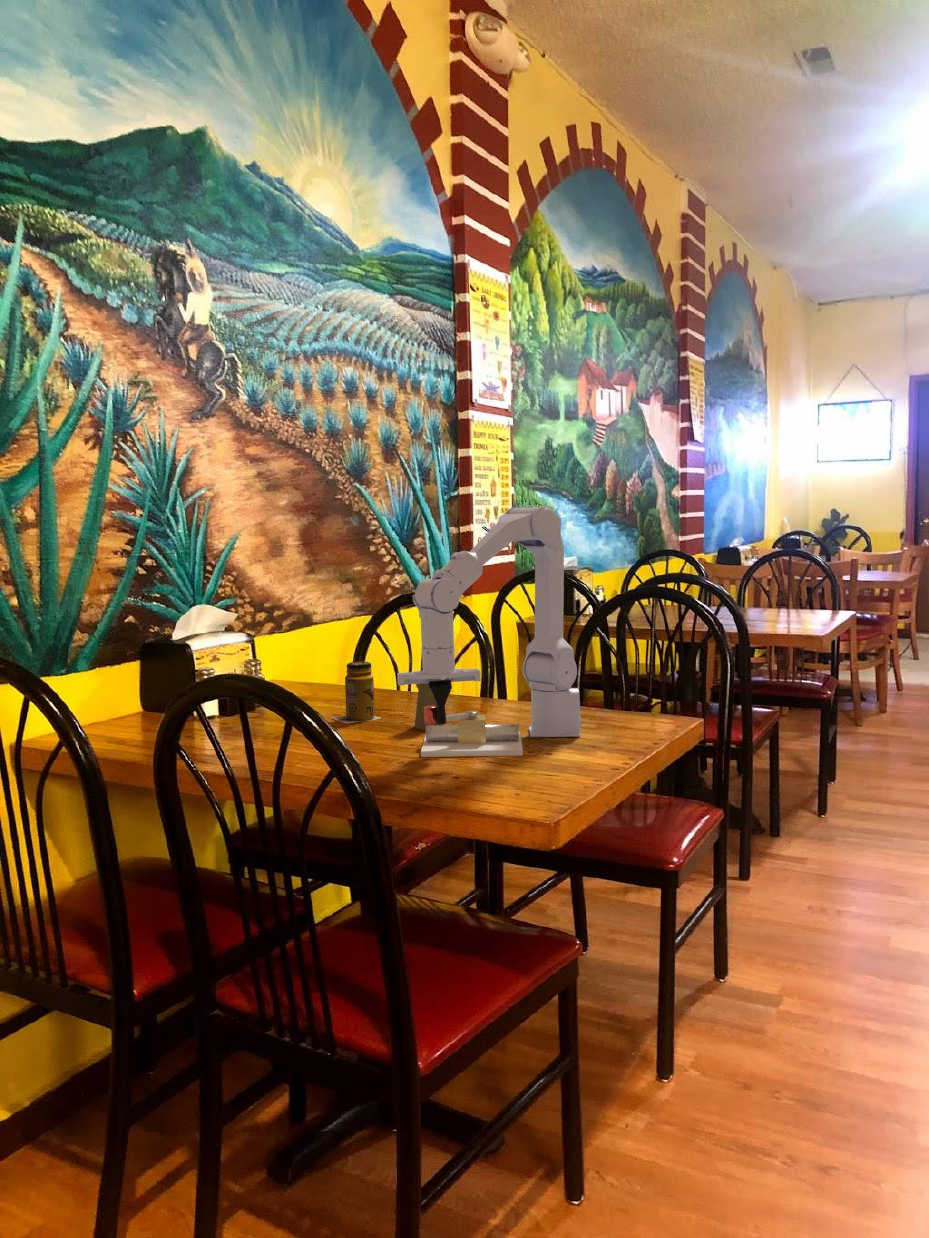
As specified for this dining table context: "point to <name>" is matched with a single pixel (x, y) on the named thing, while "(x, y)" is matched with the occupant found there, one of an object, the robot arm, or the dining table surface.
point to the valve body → (472, 732)
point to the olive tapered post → (423, 704)
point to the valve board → (472, 749)
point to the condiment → (358, 693)
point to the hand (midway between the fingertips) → (440, 723)
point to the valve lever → (431, 714)
